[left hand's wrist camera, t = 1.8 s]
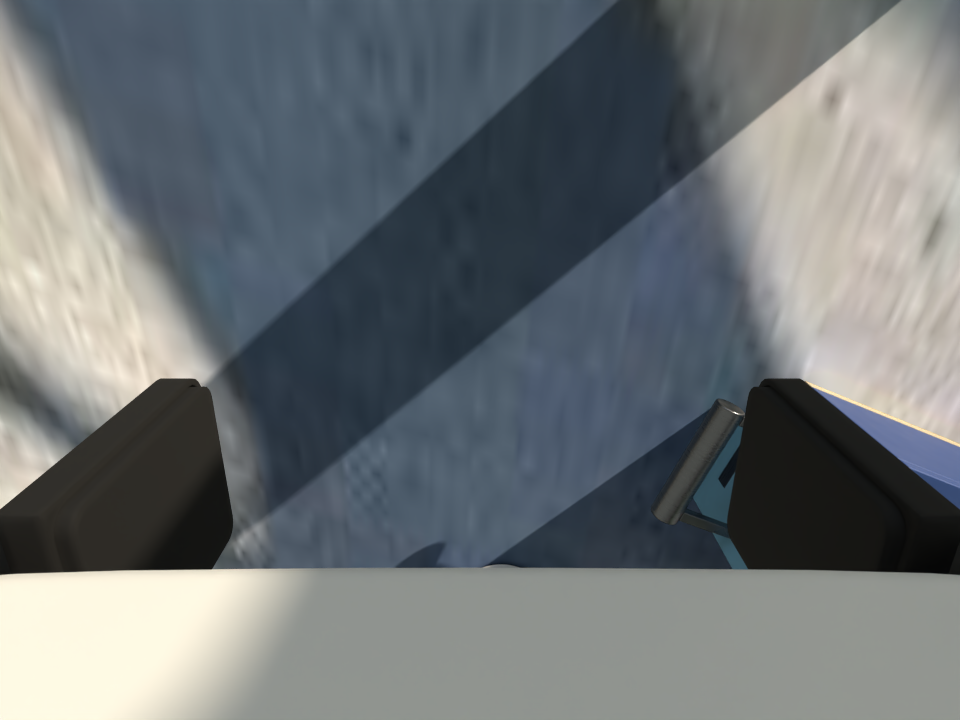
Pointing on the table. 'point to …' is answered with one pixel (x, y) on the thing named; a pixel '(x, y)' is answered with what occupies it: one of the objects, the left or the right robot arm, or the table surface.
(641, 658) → the left robot arm
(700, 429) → the drawer
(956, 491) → the blue storage bin
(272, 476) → the table surface
